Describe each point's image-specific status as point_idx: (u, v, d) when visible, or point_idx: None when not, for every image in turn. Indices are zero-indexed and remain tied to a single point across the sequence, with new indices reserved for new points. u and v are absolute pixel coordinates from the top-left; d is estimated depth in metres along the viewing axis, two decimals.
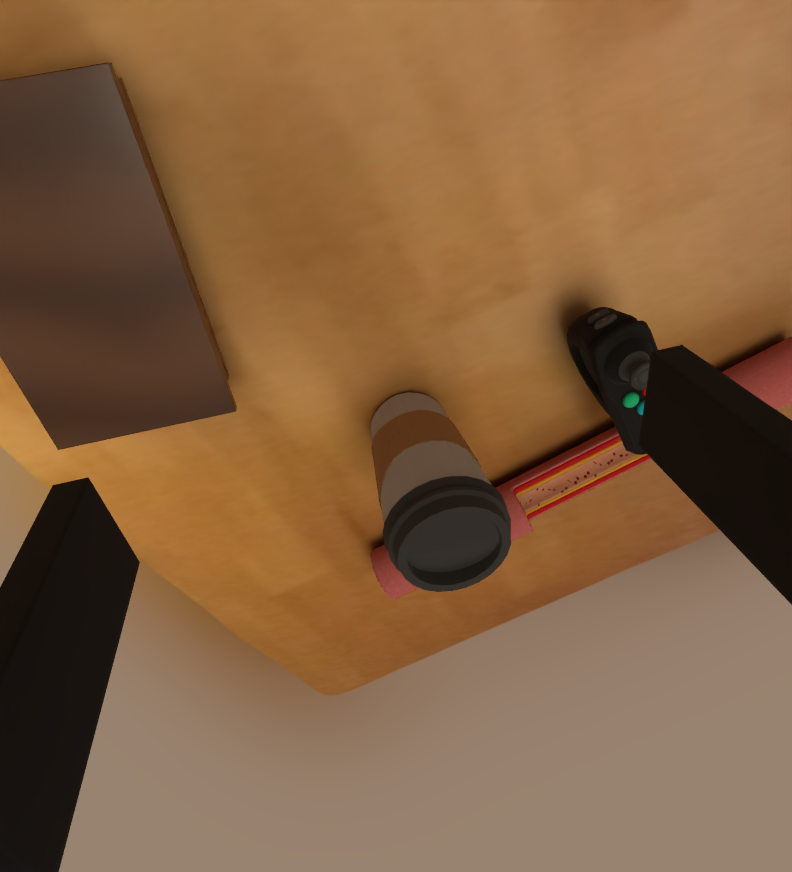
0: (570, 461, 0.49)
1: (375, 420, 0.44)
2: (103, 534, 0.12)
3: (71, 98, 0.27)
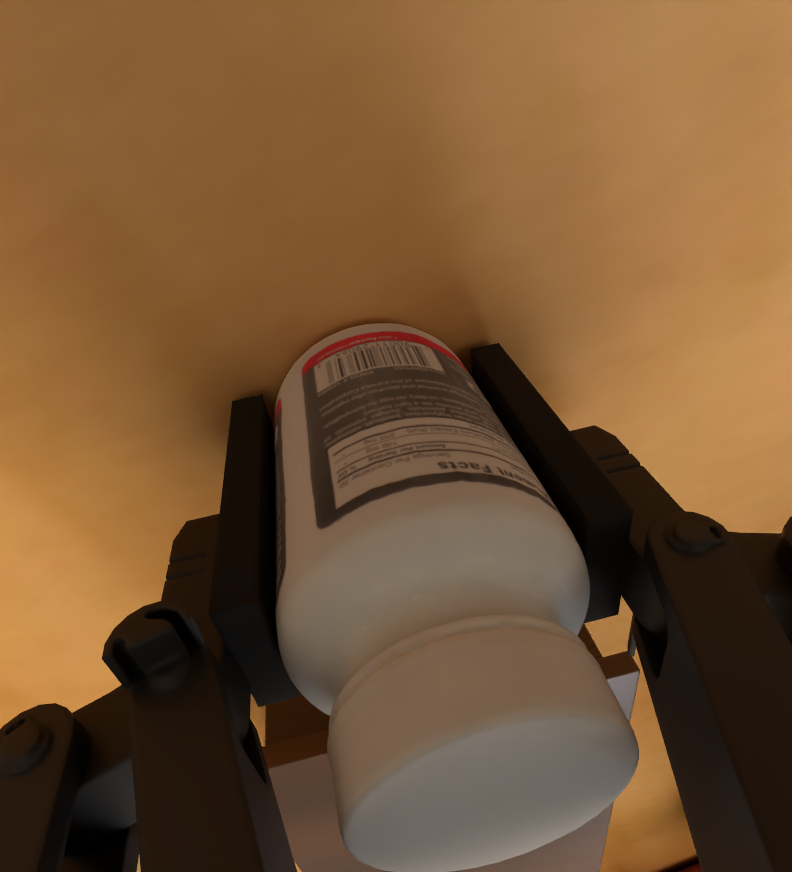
0: None
1: None
2: None
3: None
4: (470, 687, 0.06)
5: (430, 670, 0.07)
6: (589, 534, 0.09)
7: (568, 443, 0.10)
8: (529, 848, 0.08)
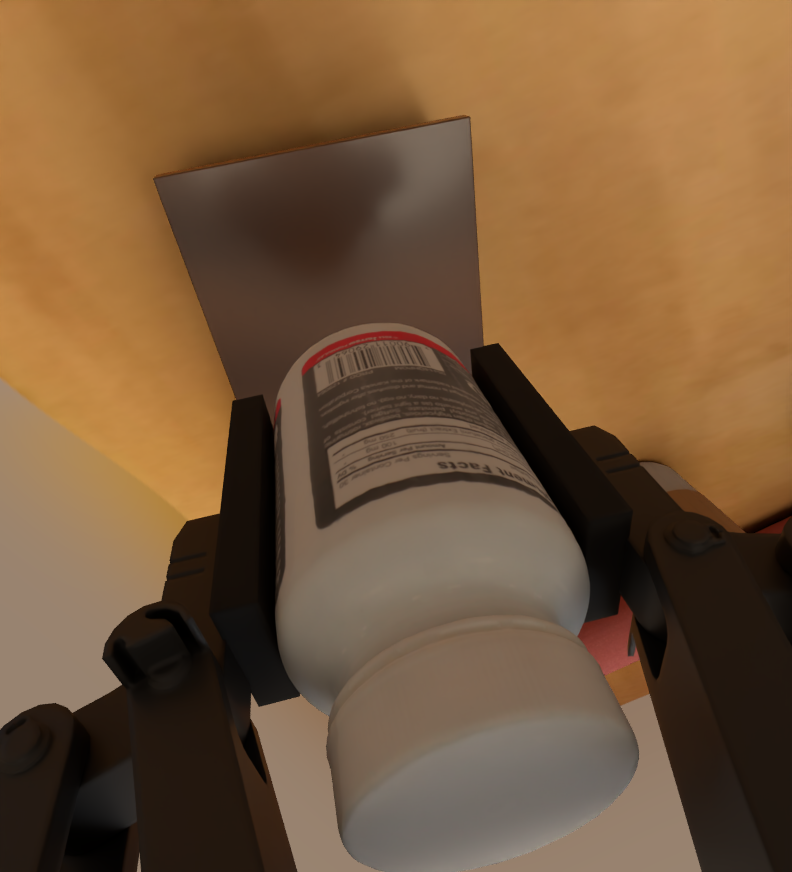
0: None
1: None
2: None
3: (415, 160, 0.21)
4: (470, 688, 0.06)
5: (431, 671, 0.07)
6: (589, 534, 0.09)
7: (568, 443, 0.10)
8: (529, 849, 0.08)
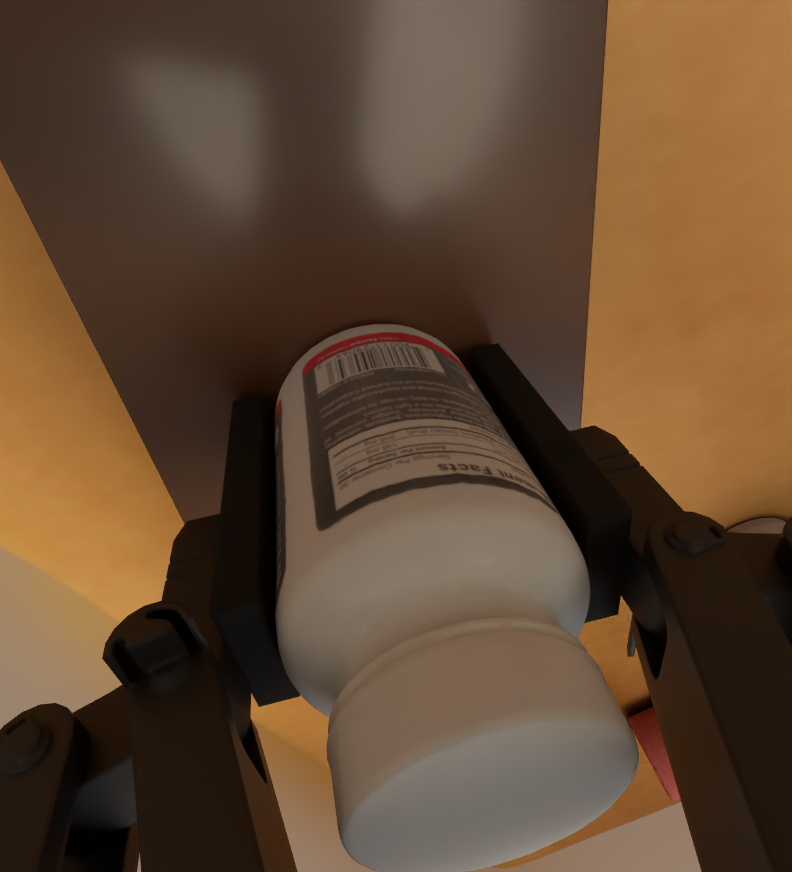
0: None
1: None
2: None
3: None
4: (470, 690, 0.06)
5: (431, 673, 0.07)
6: (589, 534, 0.09)
7: (568, 443, 0.10)
8: (529, 850, 0.08)
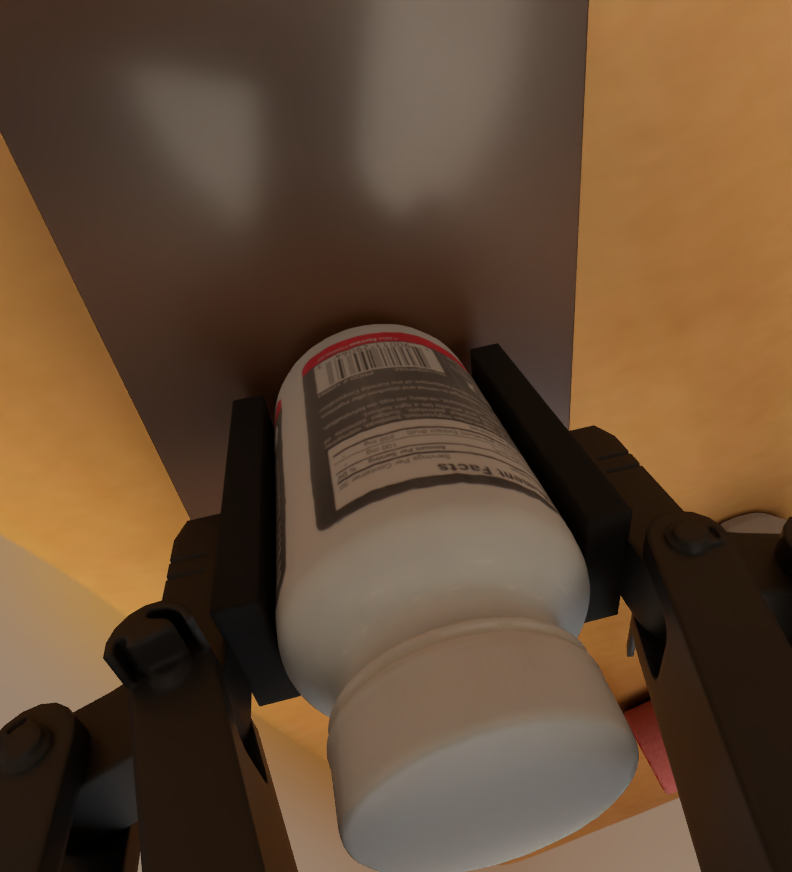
0: None
1: None
2: None
3: None
4: (470, 690, 0.06)
5: (430, 673, 0.07)
6: (588, 534, 0.09)
7: (567, 443, 0.10)
8: (529, 850, 0.08)
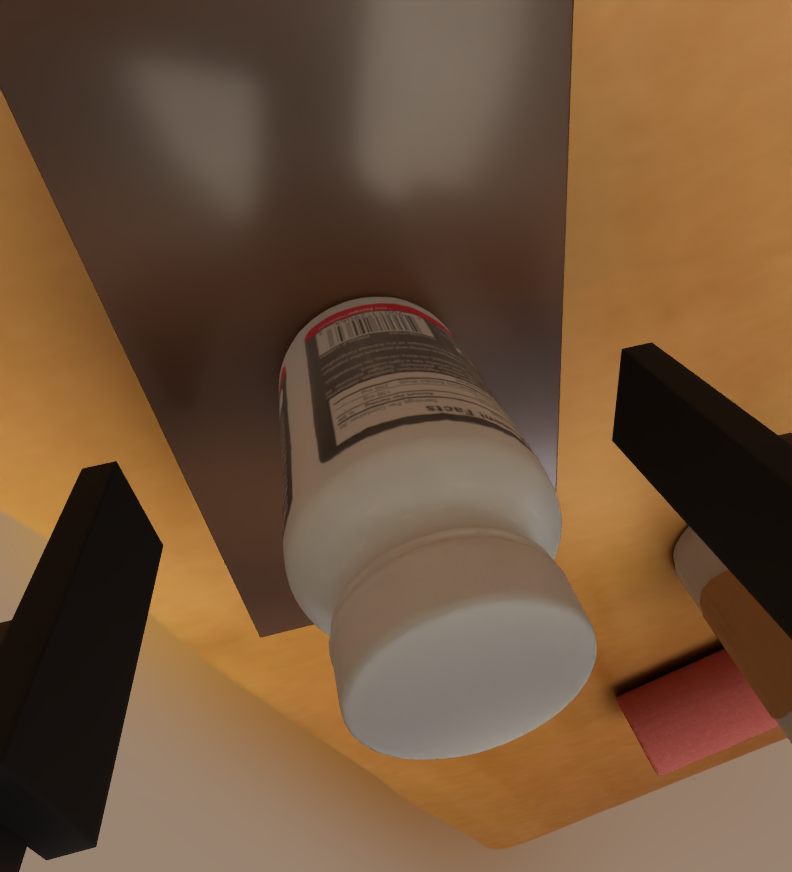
0: None
1: (703, 546, 0.28)
2: (130, 516, 0.12)
3: None
4: (450, 578, 0.07)
5: (417, 568, 0.08)
6: None
7: (789, 454, 0.09)
8: (505, 739, 0.09)
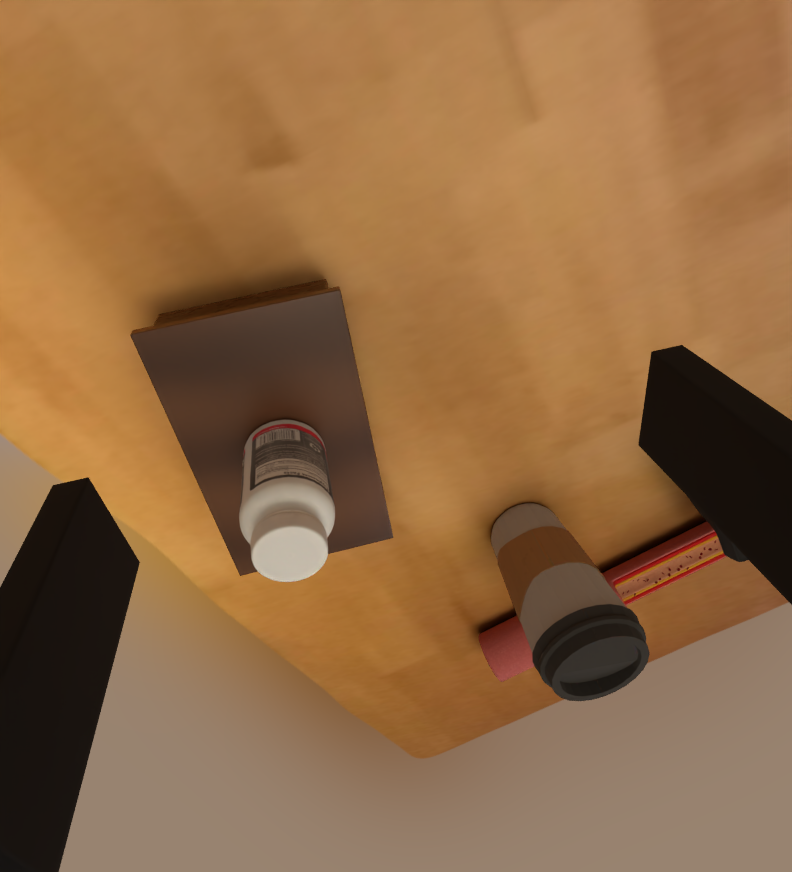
0: (665, 556, 0.54)
1: (499, 531, 0.49)
2: (103, 534, 0.12)
3: (306, 316, 0.32)
4: (279, 522, 0.28)
5: (271, 519, 0.28)
6: None
7: None
8: (306, 575, 0.30)
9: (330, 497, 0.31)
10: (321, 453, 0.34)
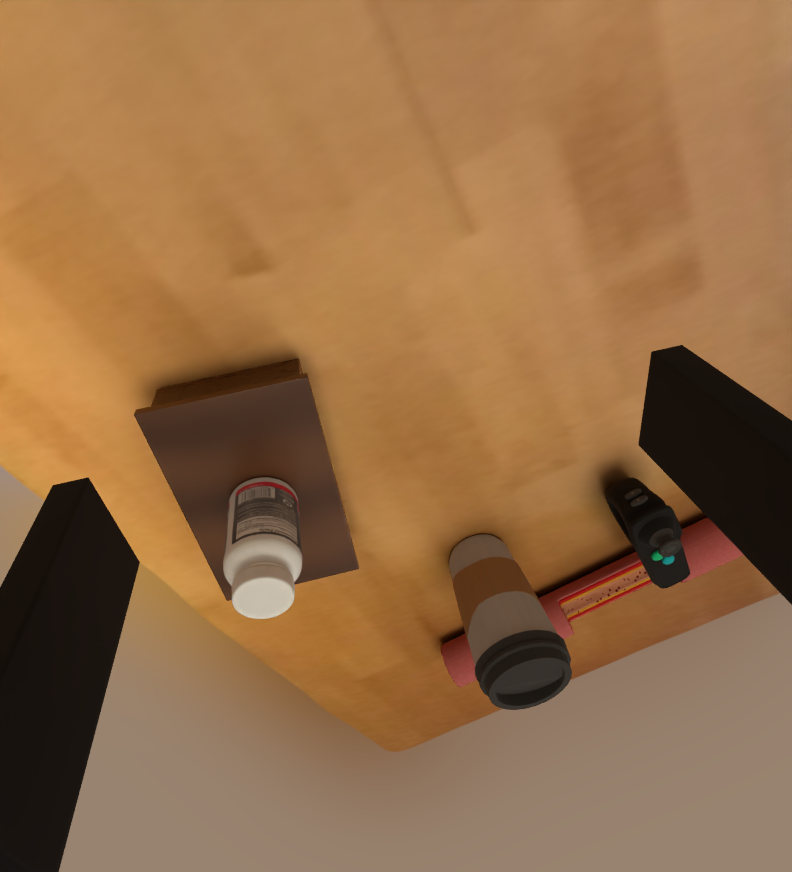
0: (604, 579, 0.61)
1: (455, 559, 0.56)
2: (103, 534, 0.12)
3: (279, 397, 0.39)
4: (254, 573, 0.35)
5: (248, 571, 0.35)
6: None
7: None
8: (277, 614, 0.37)
9: (298, 548, 0.38)
10: (293, 507, 0.41)
